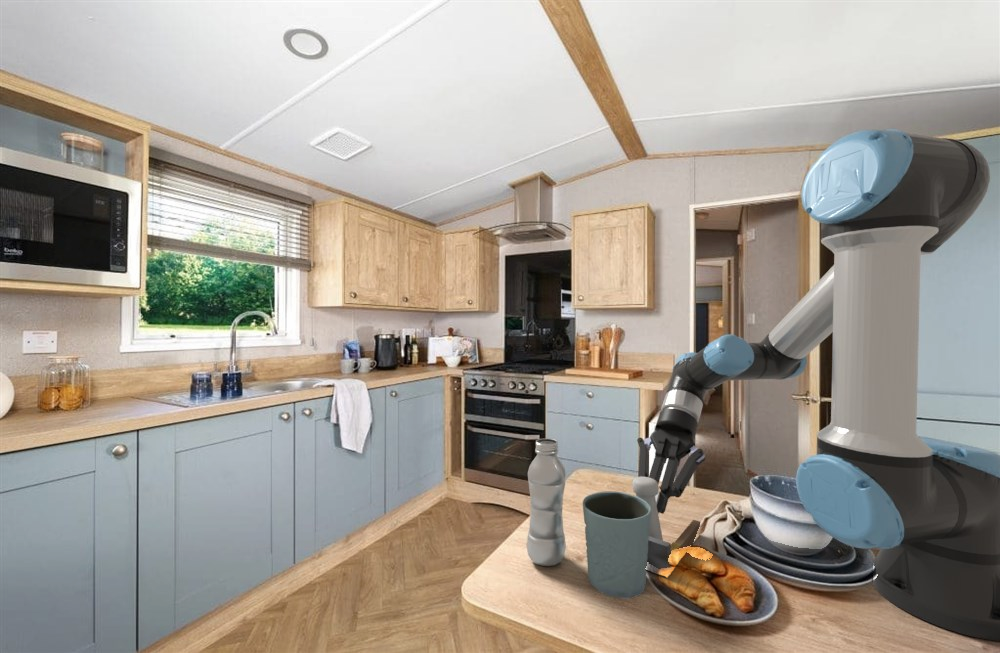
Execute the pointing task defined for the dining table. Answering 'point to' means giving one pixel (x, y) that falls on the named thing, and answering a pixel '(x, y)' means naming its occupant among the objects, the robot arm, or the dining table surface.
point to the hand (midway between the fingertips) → (647, 526)
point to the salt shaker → (649, 501)
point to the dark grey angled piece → (670, 546)
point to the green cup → (617, 542)
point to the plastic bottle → (546, 505)
